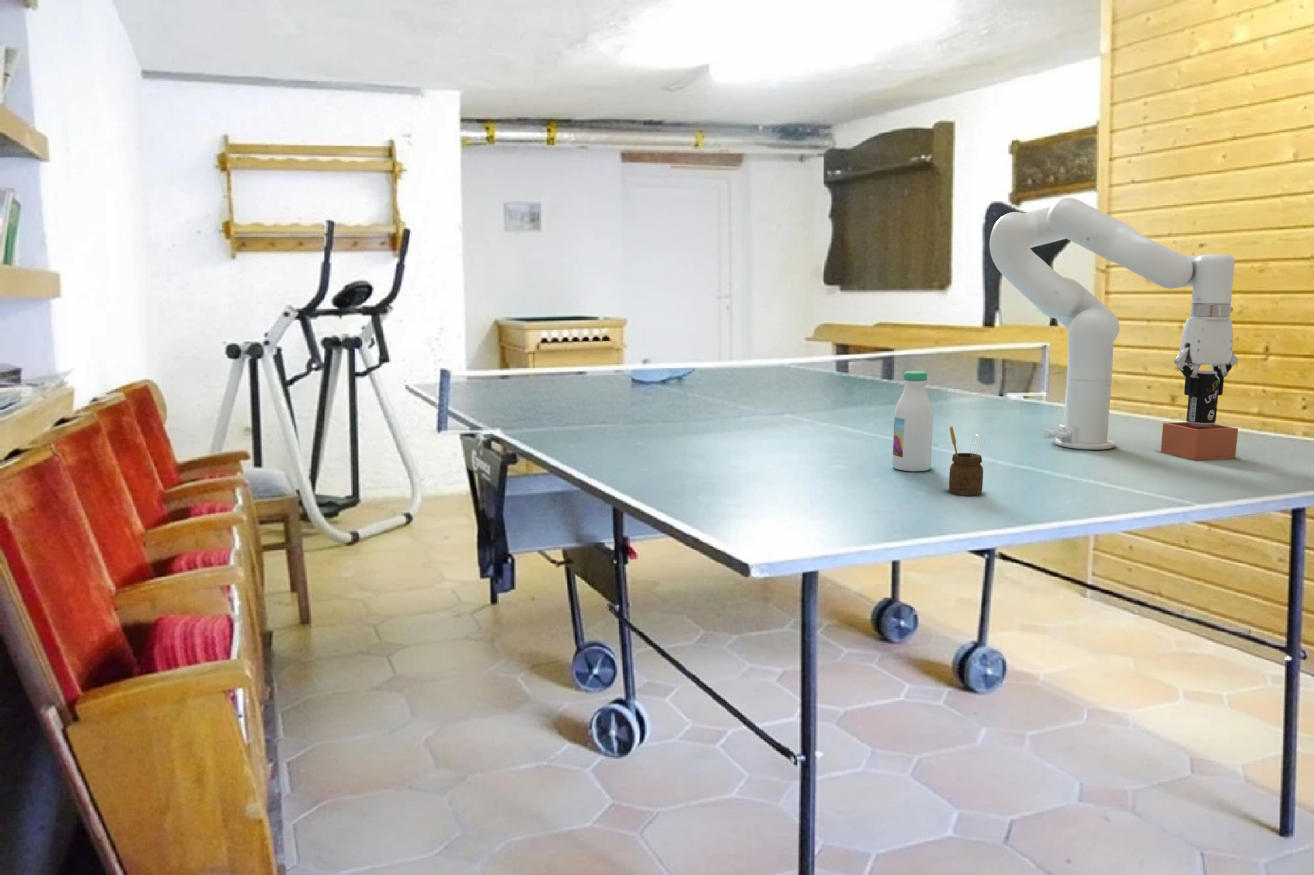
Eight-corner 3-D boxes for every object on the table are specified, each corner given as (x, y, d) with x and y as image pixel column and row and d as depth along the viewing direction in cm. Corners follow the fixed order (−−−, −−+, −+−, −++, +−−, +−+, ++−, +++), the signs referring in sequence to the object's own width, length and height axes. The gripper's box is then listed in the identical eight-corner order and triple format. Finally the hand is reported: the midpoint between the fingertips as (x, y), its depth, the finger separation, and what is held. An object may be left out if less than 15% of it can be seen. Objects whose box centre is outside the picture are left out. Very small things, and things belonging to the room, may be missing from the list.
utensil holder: (977, 497, 183) (981, 431, 181) (942, 493, 186) (945, 428, 184) (986, 491, 188) (989, 427, 186) (952, 487, 191) (955, 424, 189)
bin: (1194, 460, 218) (1197, 430, 217) (1160, 451, 228) (1163, 422, 227) (1235, 458, 220) (1238, 428, 219) (1200, 449, 230) (1202, 421, 229)
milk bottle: (933, 466, 211) (938, 371, 208) (926, 473, 204) (931, 374, 201) (896, 463, 214) (900, 369, 211) (888, 470, 207) (892, 372, 204)
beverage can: (1216, 424, 224) (1221, 370, 222) (1214, 428, 219) (1219, 373, 217) (1187, 422, 227) (1191, 369, 225) (1184, 426, 222) (1189, 371, 220)
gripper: (1230, 311, 225) (1223, 391, 228) (1163, 311, 221) (1157, 394, 224) (1257, 312, 217) (1249, 395, 220) (1188, 313, 214) (1181, 398, 217)
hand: (1203, 394), depth 222 cm, fingers closed on beverage can, 5 cm apart
